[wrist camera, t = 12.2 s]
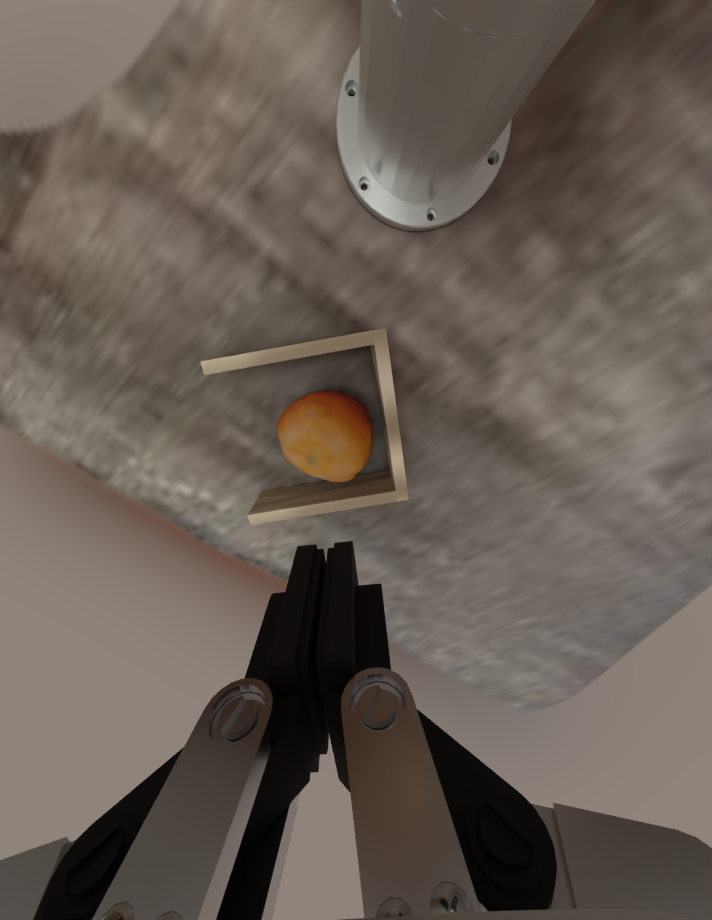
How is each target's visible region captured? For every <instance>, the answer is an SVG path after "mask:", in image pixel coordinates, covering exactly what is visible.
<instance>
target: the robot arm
mask: <svg viewBox="0 0 712 920" xmlns="http://www.w3.org/2000/svg"><path fill="white" fill-rule="evenodd" d="M595 1H596V0H361V28H360V44H359V46H358V47H357V49H356V50H355V52H354V54H353V55H352V57H351V58H350V61H349V63H348V66H347V68H346V71H345V73H344V76H343V78H342V82H341V86H340V90H339V95H338V99H337V110H336V140H337V146H338V153H339V159H340V162H341V165H342V168H343V172H344V175H345V178H346V179H347V181H348V183H349V185H350V187H351V189H352V191H353V193H354V194H355V196H356V197H357V198H358V200H359V201H360V202H361V204H362V205H363V206H364V207H365V208H366V209H367V210H368V211H369V212H370V213H371V214H372V215H374V216H375V217H376V218H377V219H379V220H381V221H383V222H384V223H386V224H388V225H390V226H393V227H396V228H399V229H402V230H408V231H426V230H433V229H437V228H439V227H442V226H445V225H448V224H450V223H451V222H453V221H455V220H456V219H458V218H460V217H461V216H463V215H464V214H465V213H466V212H467V211H468V210H470V209H471V208H472V207H473V206H474V205H475V204H476V203H477V202H478V201H479V199H480V198H481V197H482V196H483V195H484V194H485V193H486V191H487V189H488V188H489V186H490V185H491V183H492V182H493V180H494V179H495V177H496V176H497V173H498V171H499V169H500V167H501V165H502V163H503V160H504V158H505V154H506V151H507V147H508V144H509V140H510V135H511V127H512V119H513V117H514V115H515V114H516V112H517V111H518V110H519V108H520V107H521V105H522V104H523V103H524V101H525V100H526V98H527V97H528V96H529V94H530V93H531V91H532V90H533V88H534V87H535V86H536V84H537V83H538V81H539V80H540V79H541V77H542V76H543V74H544V73H545V72H546V70H547V69H548V67H549V66H550V65H551V63H552V62H553V60H554V59H555V58H556V56H557V55H558V53H559V52H560V51H561V49H562V48H563V46H564V45H565V44H566V42H567V41H568V39H569V38H570V36H571V35H572V34H573V32H574V31H575V29H576V28H577V27H578V25H579V24H580V22H581V21H582V20H583V18H584V17H585V15H586V14H587V13H588V11H589V10H590V8H591V7H592V6H593V4H594V3H595ZM349 94H354V95H355V96H353V97H352V96H349ZM488 160H489V161H491V164H492V165H490V164H489V163H488ZM363 185H365V186H366V187H367V190H366V191H363V190H361V186H363ZM428 215H431V216H432V218H433V219H432V221H429V220H428V219H427V216H428ZM329 734H330V739H331V744H332V749H333V753H334V758H335V763H336V767H337V772H338V777H339V780H340V781H341V782H342V783H343V785H344V786H345V787H346V788H347V789H348V791H349V792H350V793H351V802H352V811H353V820H354V829H355V838H356V847H357V856H358V864H359V873H360V882H361V891H362V900H363V909H364V918H362V919H345V920H712V848H711V847H709V846H708V845H707V844H705V843H703V842H702V841H701V840H699V839H698V838H696V837H693V836H691V835H689V834H686V833H684V832H681V831H679V830H675V829H670V828H666V827H661V826H657V825H652V824H648V823H643V822H638V821H634V820H630V819H624V818H620V817H616V816H611V815H607V814H602V813H598V812H593V811H588V810H584V809H579V808H575V807H570V806H565V805H561V804H556V803H553V806H552V808H548V807H543V806H539V805H534V804H530V803H529V802H528V801H527V799H525V797H523V795H522V794H520V793H519V792H518V791H517V790H516V789H514V788H513V787H512V786H511V785H509V784H508V783H507V782H506V781H504V780H503V779H502V778H501V777H499V776H498V775H497V774H496V773H495V772H493V771H492V770H491V769H489V767H487V766H486V765H485V764H484V763H482V762H481V761H480V760H479V759H478V758H476V757H475V756H474V755H472V754H471V753H470V752H469V751H468V750H466V749H465V748H464V747H462V746H461V745H460V744H459V743H458V742H457V741H455V740H454V739H453V738H452V737H451V736H449V735H448V734H447V733H446V732H444V731H443V730H442V729H441V728H440V727H438V726H437V725H435V723H433V722H432V721H431V720H430V719H428V718H427V717H426V716H425V715H424V714H422V713H421V712H420V711H419V710H417V709H416V705H415V702H414V699H413V696H412V693H411V691H410V689H409V686H408V684H407V682H406V681H405V680H404V679H403V678H402V677H401V676H400V675H399V674H397V673H395V672H393V671H392V670H391V666H390V657H389V648H388V639H387V630H386V621H385V612H384V603H383V594H382V586H381V584H371V585H360V586H358V579H357V571H356V563H355V555H354V547H353V542H352V541H348V542H338V543H335V544H334V548H328V552H327V561H325V555H324V550H323V549H317V546H316V545H306V546H298V547H297V550H296V554H295V557H294V561H293V565H292V569H291V573H290V576H289V580H288V584H287V588H286V592H283V593H273V594H272V595H271V597H270V600H269V603H268V606H267V609H266V612H265V615H264V619H263V622H262V626H261V628H260V631H259V634H258V638H257V641H256V644H255V647H254V650H253V653H252V657H251V660H250V663H249V666H248V669H247V672H246V676H245V679H240V680H237V681H234V682H232V683H230V684H228V685H227V686H225V687H224V688H222V689H221V690H220V691H219V692H218V693H217V694H216V695H215V696H214V697H212V699H211V700H210V702H209V703H208V705H207V706H206V707H205V709H204V711H203V713H202V714H201V716H200V718H199V720H198V722H197V724H196V726H195V727H194V729H193V731H192V733H191V735H190V737H189V739H188V741H187V742H186V744H185V746H184V747H183V748H182V749H181V750H180V751H179V752H177V753H176V754H175V755H174V756H173V757H172V758H170V759H169V760H168V761H167V762H166V763H164V764H163V765H162V766H161V767H160V768H158V769H157V770H156V771H155V772H154V773H153V774H151V775H150V776H149V777H148V778H147V779H145V780H144V781H143V782H142V783H141V784H139V785H138V786H137V787H136V788H135V789H133V790H132V791H131V792H130V793H129V794H128V795H126V796H125V797H124V798H123V799H122V800H120V801H119V802H118V803H117V804H116V805H114V807H112V808H111V809H110V810H109V811H107V812H106V813H105V814H104V815H103V816H102V817H101V818H99V819H98V820H97V821H95V823H93V824H92V825H91V826H90V827H89V828H88V829H87V830H86V831H85V832H84V833H83V834H82V835H81V836H80V837H79V838H78V839H77V840H75V841H71V842H70V841H69V840H68V838H67V837H65V838H62V839H59V840H56V841H53V842H50V843H48V844H45V845H42V846H39V847H36V848H34V849H31V850H28V851H25V852H22V853H19V854H17V855H14V856H11V857H8V858H5V859H3V860H0V920H272V916H273V912H274V907H275V903H276V898H277V894H278V890H279V885H280V881H281V877H282V872H283V868H284V864H285V859H286V855H287V850H288V846H289V842H290V838H291V833H292V829H293V824H294V820H295V816H296V811H297V806H298V805H297V804H298V797H299V795H298V794H299V793H300V792H301V791H302V789H303V788H304V787H305V786H306V785H307V783H308V782H309V781H310V772H318V769H319V757H320V754H327V750H328V739H329ZM343 920H344V919H343Z"/></svg>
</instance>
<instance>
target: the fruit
mask: <svg viewBox="0 0 712 920" xmlns="http://www.w3.org/2000/svg"><path fill="white" fill-rule="evenodd" d="M277 432H278V437H279V443H280V445H281V449H282V452H283V454H284V456H285V458H286V460H287V461H288V462H289V463H291V464H292V465H294V466H295V467H296V468H297V469H299V470H301V471H302V472H304V473H306V474H309V475H311V476H314V477H317V478H320V479H323V480H327V481H331V482H346V481H349V480H351V479H353V478H354V477H355V476H356V474H357V473H358V472H359V471H360V470H362V468H363V467H364V465H365V463H366V461H367V459H368V457H369V454H370V451H371V446H372V439H373V432H372V424H371V420H370V417H369V415H368V413H367V411H366V409H365V407H364V406H363V405H362V404H361V403H360V402H359V401H357V400H356V399H354V398H353V397H351V396H349V395H346V394H344V393H342V392H340V387H338V389H337V391H332V390H324V391H317V392H312V393H310V394H308V395H306V396H304V397H302V398H300V399H298V400H296V401H295V402H294V403H292V404H291V405H290V406H289V407H288V408H287V409H286V410H285V411H284V412H283V413H282V414H281V417H280V420H279V421H278V423H277Z"/></svg>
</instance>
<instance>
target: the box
mask: <svg viewBox="0 0 712 920" xmlns="http://www.w3.org/2000/svg"><path fill="white" fill-rule="evenodd" d="M369 345H371V351H372V358H373V364H374V371H375V378H376V385H377V391H378V398H379V405H380V411H381V418H382V425H383V432H384V438H385V445H386V452H387V458H388V465H389V471H384V472H378V473H372V474H366V475H360V476H355V477H354V478H353V479H351V480H349V481H346V482H331V481H324V482H318V483H312V484H306V485H299V486H293V487H287V488H281V489H275V490H269V491H263V492H261V494H260V495H259V497H258V499H257V500H256V502H255V504H254V505H253V507H252V509H251V510H250V512H249V513H248V515H247V516H248V519H249V522H250V525H255V524H262V523H268V522H274V521H280V520H286V519H293V518H299V517H305V516H311V515H317V514H323V513H330V512H336V511H342V510H348V509H354V508H360V507H367V506H373V505H379V504H385V503H391V502H398V501H404V500H409V498H408V490H407V483H406V475H405V468H404V460H403V453H402V445H401V438H400V430H399V423H398V415H397V408H396V400H395V393H394V385H393V378H392V370H391V363H390V355H389V348H388V340H387V333H386V328H382V329H377V330H371V331H366V332H360V333H355V334H349V335H344V336H338V337H333V338H327V339H322V340H316V341H311V342H305V343H300V344H294V345H289V346H283V347H278V348H273V349H267V350H262V351H256V352H251V353H245V354H240V355H234V356H229V357H223V358H218V359H212V360H207V361H201V366H202V369H203V372H204V375H208V374H214V373H220V372H225V371H231V370H236V369H242V368H247V367H253V366H258V365H264V364H269V363H275V362H281V361H286V360H292V359H297V358H303V357H308V356H314V355H319V354H325V353H330V352H336V351H341V350H347V349H353V348H358V347H364V346H369Z"/></svg>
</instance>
